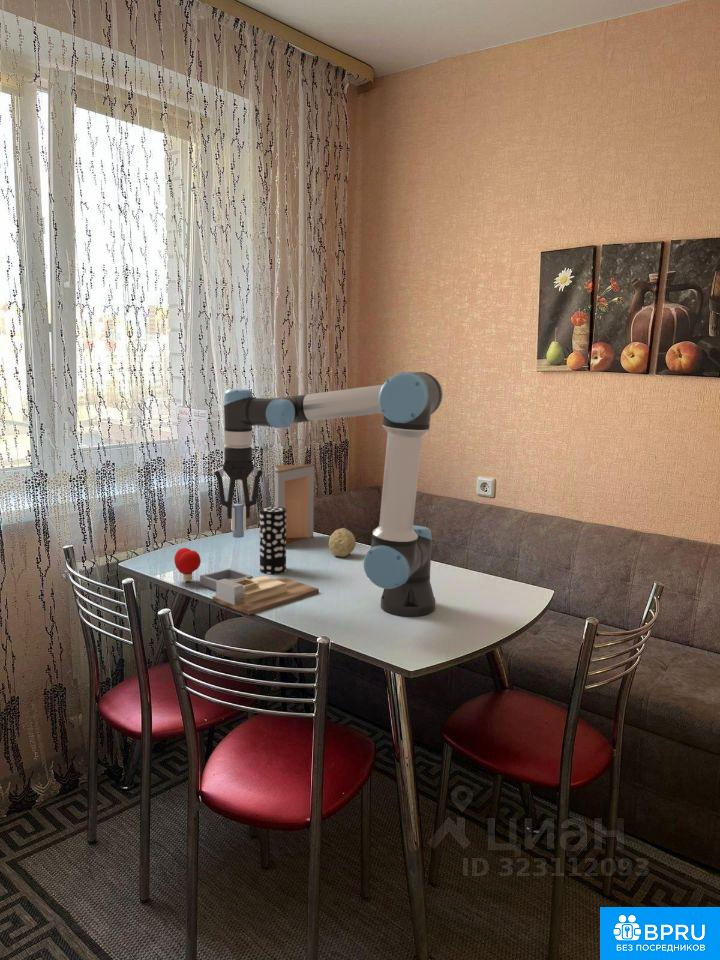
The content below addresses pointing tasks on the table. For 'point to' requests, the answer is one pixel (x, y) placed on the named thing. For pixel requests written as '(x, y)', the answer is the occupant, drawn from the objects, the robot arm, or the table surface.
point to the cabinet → (296, 500)
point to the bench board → (273, 597)
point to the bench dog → (229, 591)
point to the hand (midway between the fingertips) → (238, 529)
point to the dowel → (238, 521)
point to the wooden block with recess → (260, 588)
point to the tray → (221, 577)
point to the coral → (342, 542)
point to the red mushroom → (187, 562)
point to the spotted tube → (273, 540)
